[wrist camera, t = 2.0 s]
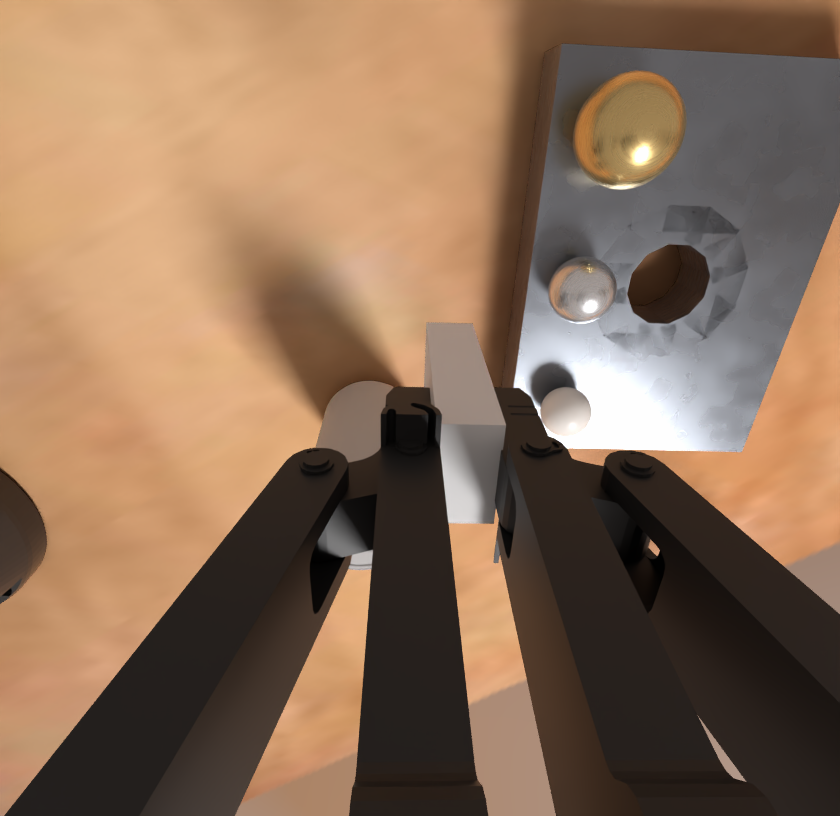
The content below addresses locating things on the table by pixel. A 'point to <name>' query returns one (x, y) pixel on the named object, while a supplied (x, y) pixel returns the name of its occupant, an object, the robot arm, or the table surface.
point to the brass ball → (629, 130)
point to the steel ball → (582, 290)
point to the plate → (693, 234)
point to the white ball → (565, 411)
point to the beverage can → (355, 431)
